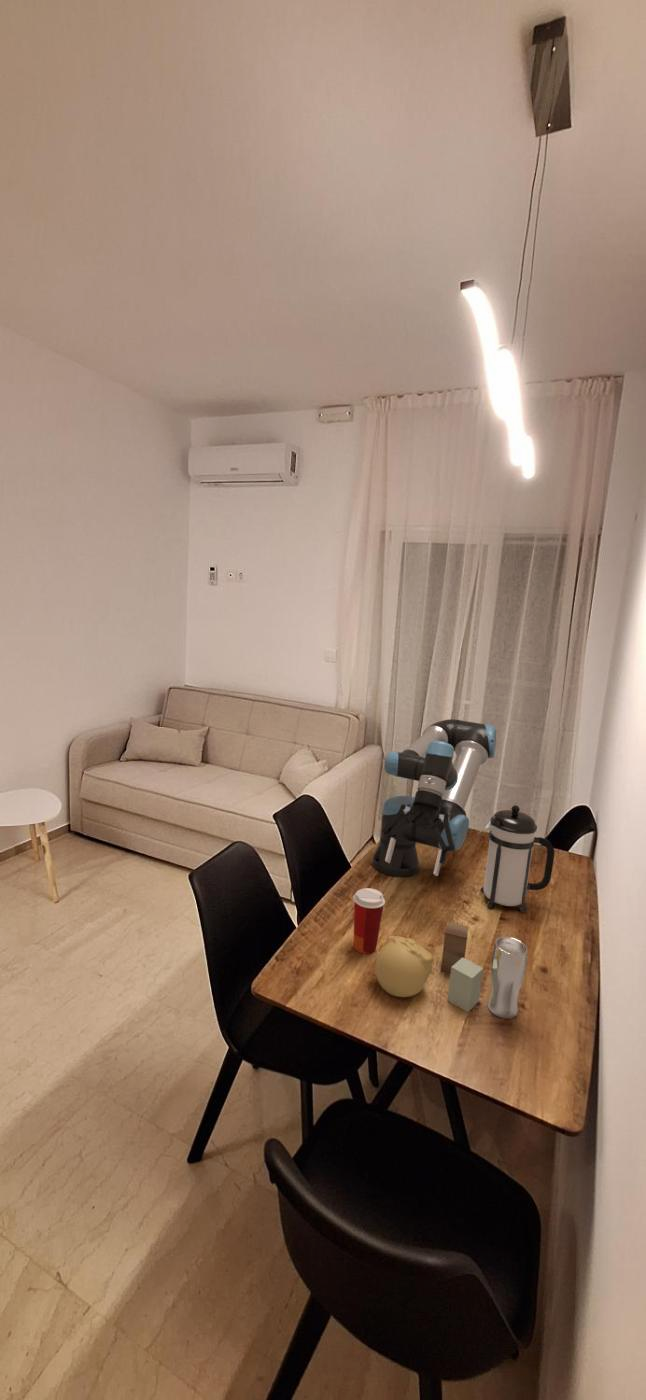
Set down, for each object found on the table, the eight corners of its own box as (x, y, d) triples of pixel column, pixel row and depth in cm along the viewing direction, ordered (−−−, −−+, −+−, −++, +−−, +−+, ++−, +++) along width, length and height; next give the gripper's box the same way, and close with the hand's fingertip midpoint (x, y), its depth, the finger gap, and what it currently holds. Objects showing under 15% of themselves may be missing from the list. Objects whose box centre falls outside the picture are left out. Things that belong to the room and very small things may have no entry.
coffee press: (512, 922, 156) (526, 820, 151) (466, 896, 169) (478, 801, 164) (547, 906, 167) (562, 810, 162) (502, 883, 179) (514, 792, 174)
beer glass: (524, 1009, 122) (533, 946, 119) (511, 1025, 117) (520, 959, 114) (494, 993, 126) (502, 932, 124) (479, 1008, 121) (488, 944, 119)
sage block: (458, 989, 127) (462, 957, 125) (478, 1001, 123) (483, 968, 122) (447, 1000, 123) (451, 966, 122) (467, 1012, 120) (472, 978, 118)
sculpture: (437, 988, 126) (442, 944, 125) (404, 1012, 118) (409, 966, 116) (397, 963, 134) (401, 921, 133) (363, 984, 126) (367, 940, 124)
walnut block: (442, 959, 137) (446, 921, 136) (463, 964, 136) (468, 926, 134) (440, 971, 133) (445, 932, 131) (462, 977, 131) (467, 937, 129)
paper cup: (382, 942, 143) (387, 890, 140) (377, 959, 135) (382, 905, 133) (352, 935, 145) (357, 884, 142) (345, 952, 137) (350, 899, 135)
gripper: (384, 781, 162) (364, 853, 154) (472, 799, 150) (454, 878, 143) (391, 789, 168) (372, 859, 160) (475, 807, 157) (459, 883, 149)
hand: (410, 868), depth 152 cm, fingers open, 13 cm apart
